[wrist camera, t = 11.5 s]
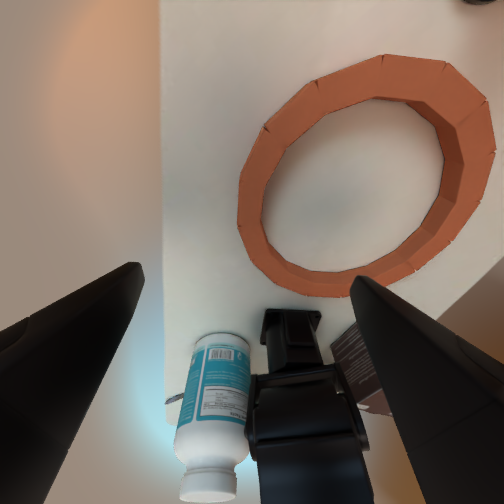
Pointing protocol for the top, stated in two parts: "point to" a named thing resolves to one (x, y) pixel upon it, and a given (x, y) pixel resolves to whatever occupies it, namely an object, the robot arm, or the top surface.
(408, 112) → the top surface
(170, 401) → the pen
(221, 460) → the pill bottle
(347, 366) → the box
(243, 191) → the ring
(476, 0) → the post stand
